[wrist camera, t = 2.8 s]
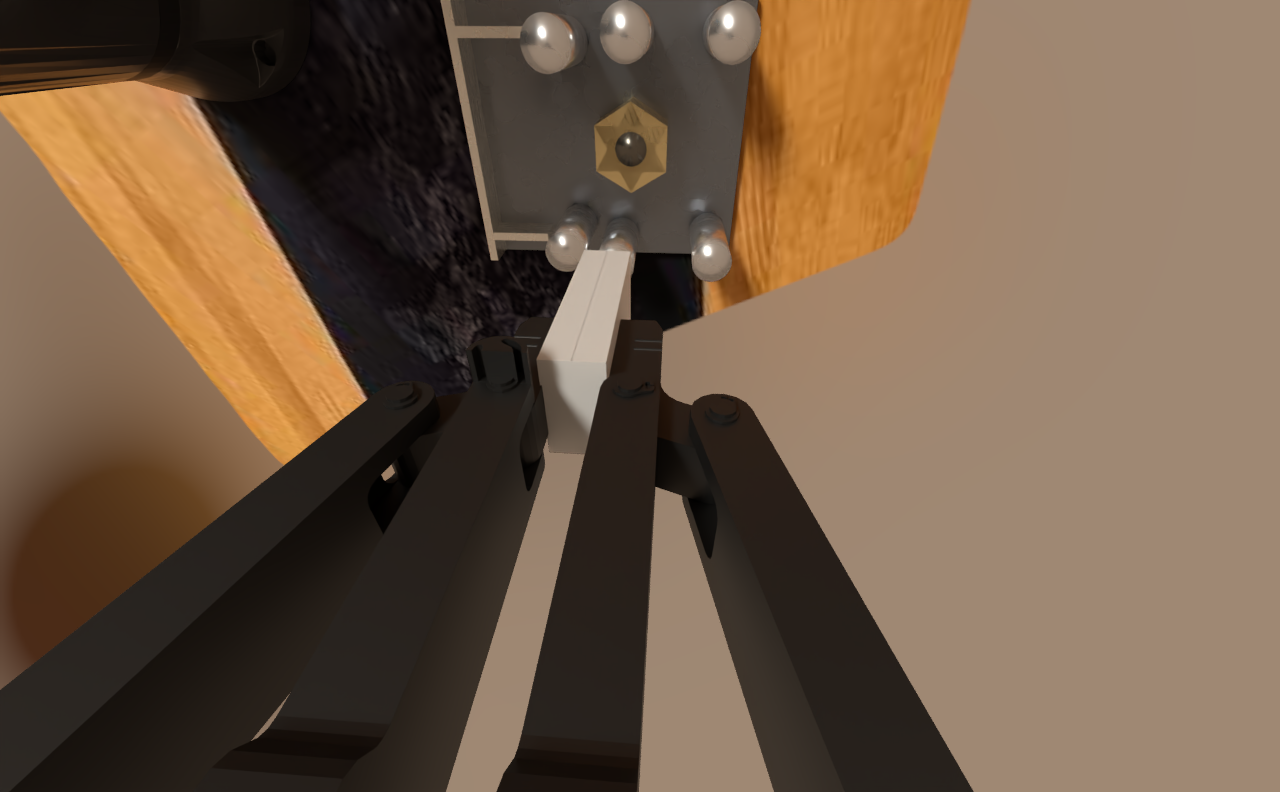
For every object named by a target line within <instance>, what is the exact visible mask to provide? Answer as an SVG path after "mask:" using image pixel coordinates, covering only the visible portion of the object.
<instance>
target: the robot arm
mask: <svg viewBox="0 0 1280 792" xmlns="http://www.w3.org/2000/svg"><path fill="white" fill-rule="evenodd" d="M310 28H311V16H310V4H309V0H0V96H3V95H12V94H20V93H29V92H37V91H46V90H55V89H63V88H72V87H81V86H89V85H98V84H107V83H114V82H122V81H134V80H135V81H139V82H143V83H146V84H150V85H153V86H157V87H161V88H164V89H168V90H171V91H175V92H179V93H182V94H186V95H189V96H193V97H197V98H200V99H205V100H211V101H219V102H238V101H245V100H251V99H257V98H262V97H267V96H269V95H272V94H274V93H276V92H278V91H280V90H281V89H283V88H284V87H286V86H287V85H288V84H289V83H290V82H291V81H292V80H293V79H294V77H295V76H296V75H297V73H298V72H299V70H300V68H301V66H302V64H303V62H304V59H305V56H306V53H307V49H308V45H309V39H310ZM662 339H663V330H662V328H661V327H660V325H659V324H658V323H657V321H651V320H631V252H630V251H601V250H584V252H583V254H582V257H581V259H580V261H579V263H578V266H577V268H576V270H575V273H574V275H573V277H572V279H571V282H570V284H569V286H568V289H567V291H566V293H565V295H564V298H563V300H562V302H561V305H560V307H559V309H558V311H557V314H556V316H555V318H546V317H531V318H530V319H528V320H527V321H525V322H524V323H522V324H521V325H520V326H519V328H518V330H517V331H516V333H515V335H514V337H509V336H493V337H489V338H485V339H481V340H479V341H477V342H475V343H473V344H471V345H470V346H469V347H468V348H467V349H466V354H467V358H468V362H469V366H470V370H471V375H472V379H473V383H472V385H471V386H470V388H469V390H468V391H467V392H464V393H459V394H453V395H447V396H440V397H436V395H435V392H434V390H433V388H432V387H431V386H430V385H429V384H426V383H424V382H419V381H405V382H399V383H396V384H393V385H390V386H387V387H385V388H383V389H382V390H380V391H378V392H377V393H375V394H374V395H373V396H371V397H370V398H369V399H368V400H366V401H365V402H364V403H363V404H361V405H360V406H359V407H358V408H356V409H355V410H354V411H353V412H351V413H350V414H349V415H347V416H346V417H345V418H344V419H342V420H341V421H340V422H339V423H337V424H336V425H335V426H334V427H332V428H331V429H330V430H328V431H327V432H326V433H325V434H323V435H322V436H321V437H320V438H318V439H317V440H316V441H315V442H313V443H312V444H311V445H310V446H308V447H307V448H306V449H304V450H303V451H302V452H301V453H299V454H298V455H297V456H296V457H294V458H293V459H292V460H291V461H289V462H288V463H287V464H286V465H284V466H283V467H282V468H280V469H279V470H278V471H277V472H275V473H274V474H273V475H272V476H270V477H269V478H268V479H267V480H265V481H264V482H263V483H261V484H260V485H259V486H258V487H257V488H255V489H254V490H253V491H251V492H250V493H249V494H248V495H246V496H245V497H244V498H243V499H241V500H240V501H239V502H238V503H236V504H235V505H234V506H232V507H231V508H230V509H229V510H227V511H226V512H225V513H224V514H222V515H221V516H220V517H218V518H217V519H216V520H215V521H213V522H212V523H211V524H210V525H208V526H207V527H206V528H205V529H203V530H202V531H201V532H200V533H198V534H197V535H196V536H194V537H193V538H192V539H191V540H189V541H188V542H187V543H186V544H185V545H183V546H182V547H181V548H179V549H178V550H177V551H175V553H173V554H172V555H170V556H169V557H168V558H167V559H165V560H164V561H163V562H162V563H160V564H159V565H158V566H157V567H155V568H154V569H153V570H151V571H150V572H149V573H148V574H146V575H145V576H144V577H143V578H141V579H140V580H139V581H138V582H136V583H135V584H134V585H133V586H132V587H130V588H129V589H128V590H126V591H125V592H124V593H122V594H121V595H120V596H119V597H118V598H116V599H115V600H114V601H112V602H111V603H110V604H109V605H107V606H106V607H105V608H103V609H102V610H101V611H100V612H98V613H97V614H96V615H95V616H93V617H92V618H91V619H90V620H88V621H87V622H86V623H85V624H83V625H82V626H81V627H80V628H78V629H77V630H76V631H74V632H73V633H72V634H71V635H69V636H68V637H67V638H66V639H64V640H63V641H62V642H60V643H59V644H58V645H57V646H55V647H54V648H53V649H52V650H50V651H49V652H48V653H47V654H45V655H44V656H43V657H41V658H40V659H39V660H38V661H37V662H35V663H34V664H33V665H31V666H30V667H29V668H28V669H26V670H25V671H24V672H23V673H21V674H20V675H19V676H17V677H16V678H15V679H14V680H12V681H11V682H10V683H9V684H7V685H6V686H5V687H4V688H2V689H1V690H0V792H446V789H447V786H448V783H449V779H450V776H451V773H452V770H453V766H454V763H455V760H456V757H457V753H458V750H459V747H460V743H461V739H462V737H463V734H464V730H465V727H466V724H467V720H468V717H469V714H470V711H471V707H472V704H473V701H474V697H475V694H476V691H477V688H478V684H479V681H480V678H481V674H482V671H483V668H484V665H485V661H486V658H487V655H488V652H489V648H490V645H491V641H492V638H493V635H494V632H495V629H496V625H497V622H498V619H499V615H500V612H501V609H502V605H503V602H504V599H505V595H506V592H507V589H508V586H509V583H510V579H511V576H512V573H513V569H514V566H515V563H516V560H517V556H518V553H519V550H520V547H521V543H522V540H523V537H524V533H525V530H526V527H527V523H528V520H529V517H530V514H531V510H532V507H533V504H534V500H535V497H536V494H537V491H538V487H539V484H540V481H541V478H542V474H543V471H544V467H545V460H544V453H543V448H544V446H545V443H546V439H547V438H548V445H549V452H554V453H573V454H585V456H584V461H583V465H582V469H581V474H580V478H579V483H578V488H577V492H576V496H575V500H574V505H573V509H572V514H571V518H570V522H569V527H568V531H567V536H566V540H565V545H564V549H563V554H562V558H561V562H560V567H559V571H558V576H557V580H556V584H555V589H554V593H553V598H552V602H551V607H550V611H549V615H548V620H547V624H546V629H545V633H544V637H543V642H542V646H541V651H540V655H539V659H538V664H537V668H536V673H535V677H534V682H533V686H532V691H531V696H530V699H529V704H528V708H527V713H526V717H525V721H524V726H523V730H522V735H521V738H520V742H519V746H518V749H517V752H516V755H515V757H514V759H513V760H512V762H511V763H510V765H509V766H508V768H507V769H506V771H505V772H504V774H503V777H502V779H501V782H500V784H499V787H498V789H497V792H639V778H640V758H641V741H642V740H641V739H642V722H643V703H644V684H645V667H646V648H647V630H648V611H649V593H650V574H651V556H652V537H653V518H654V500H655V487H658V488H661V489H664V490H667V491H670V492H673V493H676V494H679V495H682V500H683V504H684V508H685V511H686V514H687V517H688V520H689V523H690V527H691V530H692V532H693V536H694V539H695V542H696V546H697V549H698V552H699V555H700V558H701V561H702V565H703V568H704V571H705V574H706V577H707V581H708V584H709V587H710V590H711V593H712V596H713V599H714V602H715V606H716V609H717V612H718V615H719V618H720V622H721V625H722V628H723V631H724V634H725V638H726V641H727V644H728V647H729V650H730V653H731V656H732V660H733V663H734V666H735V669H736V672H737V676H738V679H739V682H740V685H741V688H742V691H743V695H744V698H745V701H746V704H747V707H748V710H749V713H750V716H751V720H752V723H753V726H754V729H755V733H756V736H757V739H758V742H759V745H760V748H761V752H762V755H763V758H764V761H765V764H766V768H767V771H768V774H769V777H770V780H771V783H772V787H773V789H774V792H973V790H972V788H971V787H970V785H969V783H968V781H967V780H966V778H965V776H964V774H963V773H962V771H961V769H960V767H959V766H958V764H957V762H956V760H955V759H954V757H953V756H952V754H951V752H950V750H949V748H948V747H947V745H946V743H945V741H944V740H943V738H942V737H941V735H940V733H939V731H938V730H937V728H936V726H935V724H934V722H933V721H932V719H931V717H930V716H929V714H928V712H927V710H926V709H925V707H924V705H923V704H922V702H921V700H920V698H919V697H918V695H917V693H916V691H915V690H914V688H913V686H912V685H911V683H910V681H909V679H908V678H907V676H906V674H905V672H904V671H903V669H902V667H901V666H900V664H899V662H898V660H897V659H896V657H895V655H894V653H893V652H892V650H891V648H890V646H889V645H888V643H887V641H886V640H885V638H884V636H883V634H882V633H881V631H880V629H879V627H878V626H877V624H876V622H875V620H874V619H873V617H872V615H871V614H870V612H869V610H868V609H867V607H866V605H865V604H864V601H863V600H862V598H861V596H860V595H859V593H858V591H857V589H856V588H855V586H854V584H853V582H852V581H851V579H850V577H849V576H848V574H847V572H846V570H845V569H844V567H843V565H842V563H841V562H840V560H839V558H838V557H837V555H836V553H835V551H834V550H833V548H832V546H831V544H830V543H829V541H828V539H827V538H826V536H825V534H824V532H823V531H822V529H821V528H820V525H819V524H818V522H817V520H816V519H815V517H814V515H813V513H812V512H811V510H810V508H809V507H808V505H807V503H806V501H805V500H804V498H803V496H802V494H801V493H800V491H799V489H798V487H797V486H796V484H795V482H794V481H793V479H792V477H791V475H790V474H789V472H788V470H787V468H786V467H785V465H784V463H783V462H782V460H781V458H780V456H779V455H778V453H777V451H776V450H775V448H774V446H773V444H772V442H771V441H770V439H769V437H768V436H767V434H766V432H765V431H764V429H763V427H762V425H761V424H760V422H759V420H758V419H757V417H756V415H755V413H754V411H753V410H752V409H751V407H750V406H748V404H747V403H746V402H744V401H742V400H740V399H739V398H737V397H733V396H730V395H725V394H710V395H706V396H703V397H700V398H699V399H697V400H696V401H694V403H693V405H689V404H685V403H682V402H679V401H676V400H675V399H673V398H671V397H669V396H668V395H667V394H666V393H665V392H664V391H663V389H662V387H661V383H660V381H661V361H662ZM391 464H392V467H393V469H394V471H395V474H393V476H392V477H390V478H389V479H387V480H386V481H384V480H383V478H382V476H381V474H382V473H383V472H384V471H385V470H386V469H387V468H388V467H389V466H390V465H391ZM290 692H291V693H290ZM289 694H290V695H289ZM288 695H289V696H288ZM287 696H288V698H287V700H286V702H285V703H284V705H283V707H282V708H281V710H280V712H279V713H278V715H277V716H276V718H275V719H274V721H273V722H272V724H271V725H270V727H269V728H268V729H267V730H266V731H265V732H264V733H262V735H260V736H259V737H258V738H257V739H254V740H252V739H253V738H254V736H255V735H256V734H257V733H258V732H259V730H260V729H261V728H262V727H263V725H264V724H265V723H266V722H267V721H268V719H269V718H270V717H271V716H272V714H273V713H274V712H275V711H276V710H277V708H278V707H279V706H280V705H281V703H282V702H283V701H284V700H285V699H286V697H287ZM251 740H252V741H251Z"/></svg>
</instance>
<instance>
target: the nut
mask: <svg viewBox="0 0 1280 792" xmlns="http://www.w3.org/2000/svg"><path fill="white" fill-rule="evenodd" d="M667 130H668V120H667V119H666V118H664V117H663V116H661V115H660V114H658V113H657V112H656V111H654V110H653V109H651V108H650V107H648V106H647V105H645V104H644V103H642V102H641V101H640V100H638V99H637V98H635V97H634V96H633V97H632V98H630V99H629V100H627V101H626V102H624V103H623V104H621V105H620V106H618V107H617V108H615V109H614V110H612V111H611V112H609V113H608V114H606V115H605V116H604V117H602V118H601V119H599V120H598V122H597V123H596V124H595V125H594V131H595V151H596V171H597V172H598V173H600V174H602V175H603V176H605V177H606V178H608V179H610V180H611V181H613V182H614V183H616V184H618V185H619V186H621V187H622V188H624V189H626V190H627V191H629V192H630V193H632V192H634V191H635V190H637V189H639V188H641V187H642V186H644V185H646V184H647V183H649V182H651V181H652V180H654V179H656V178H657V177H659V176H661V175H662V174H664V173H666V159H667Z"/></svg>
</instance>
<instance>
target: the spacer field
mask: <svg viewBox="0 0 1280 792" xmlns="http://www.w3.org/2000/svg"><path fill="white" fill-rule="evenodd" d="M441 5H442V10H443V15H444V20H445V26H446V31H447V36H448V41H449V46H450V51H451V56H452V62H453V67H454V72H455V77H456V82H457V87H458V92H459V97H460V103H461V108H462V113H463V118H464V123H465V128H466V133H467V139H468V144H469V149H470V154H471V159H472V164H473V169H474V175H475V180H476V185H477V190H478V195H479V200H480V205H481V211H482V216H483V221H484V226H485V231H486V236H487V241H488V247H489V252H490V257H491V260H499V259H500V258H501V256H502V255H503V254H504V252H505V251H506V250H507V249H513V250H545V253H546V257H547V259H548V261H549V262H550V264H551V265H552V266H553V267H555V268H556V269H558V270H561V271H565V272H569V271H574V270H576V268H577V266H578V263H579V261H580V259H581V257H582V254H583V252H584V250H601V251H630V252H631V276H632V274H633V269H634V263H635V257H636V252H643V253H686V254H691V257H692V267H693V271H694V273H695V274H696V276H697V277H699V278H700V279H702V280H704V281H708V282H713V281H718V280H720V279H722V278H723V277H725V276H726V275H727V274H728V272H729V271H730V268H731V265H732V258H731V254H730V250H729V241H730V233H731V225H732V216H733V208H734V199H735V191H736V183H737V174H738V166H739V157H740V149H741V140H742V132H743V124H744V115H745V107H746V98H747V90H748V82H749V73H750V65H751V56H752V53H753V52H754V51H755V49H756V47H757V45H758V42H759V39H760V34H761V24H760V19H759V16H758V13H757V6H758V0H441ZM633 96H634V97H635V98H637V99H638V100H640V101H641V102H642V103H644V104H645V105H647V106H648V107H650V108H651V109H653V110H654V111H656V112H657V113H658V114H660V115H661V116H663V117H664V118H666V119H667V120H668V130H667V159H666V173H664V174H662V175H661V176H659V177H657V178H656V179H654V180H652V181H651V182H649V183H647V184H646V185H644V186H642V187H641V188H639V189H637V190H635V191H634V192H632V193H630V192H629V191H627V190H626V189H624V188H622V187H621V186H619V185H618V184H616V183H614V182H613V181H611V180H610V179H608V178H606V177H605V176H603V175H602V174H600V173H598V172H597V171H596V151H595V131H594V125H595V124H596V123H597V122H598V120H599V119H601V118H602V117H604V116H605V115H606V114H608V113H609V112H611V111H612V110H614V109H615V108H617V107H618V106H620V105H621V104H623V103H624V102H626V101H627V100H629V99H630V98H632V97H633Z"/></svg>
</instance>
